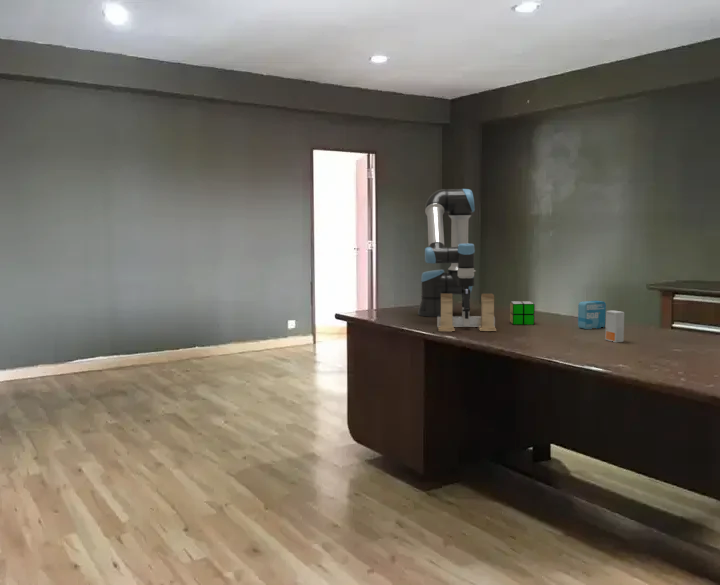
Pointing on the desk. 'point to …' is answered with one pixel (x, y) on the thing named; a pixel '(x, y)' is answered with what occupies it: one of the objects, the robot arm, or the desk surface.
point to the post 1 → (446, 313)
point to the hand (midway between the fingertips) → (465, 323)
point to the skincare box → (614, 326)
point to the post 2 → (487, 313)
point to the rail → (458, 321)
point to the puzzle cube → (522, 312)
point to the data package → (591, 314)
